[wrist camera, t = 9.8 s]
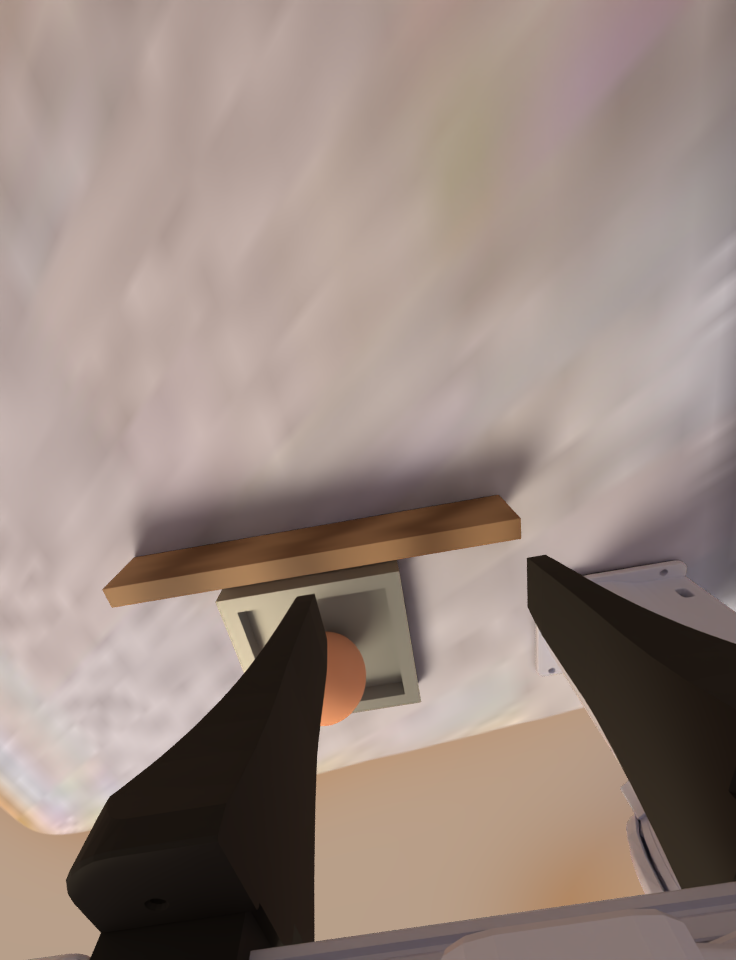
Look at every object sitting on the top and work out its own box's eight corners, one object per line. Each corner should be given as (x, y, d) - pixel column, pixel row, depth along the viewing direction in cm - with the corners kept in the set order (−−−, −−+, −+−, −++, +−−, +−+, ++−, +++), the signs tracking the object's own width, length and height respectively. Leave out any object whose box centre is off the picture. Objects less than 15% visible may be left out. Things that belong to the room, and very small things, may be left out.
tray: (396, 557, 23) (399, 571, 21) (417, 684, 27) (421, 702, 25) (223, 587, 23) (215, 602, 22) (270, 708, 27) (265, 726, 26)
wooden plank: (498, 494, 21) (520, 518, 19) (499, 512, 22) (521, 538, 19) (133, 557, 22) (102, 589, 19) (141, 574, 22) (112, 607, 20)
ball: (357, 608, 24) (358, 675, 19) (370, 665, 25) (374, 739, 21) (281, 621, 24) (263, 690, 19) (299, 677, 25) (287, 753, 21)
